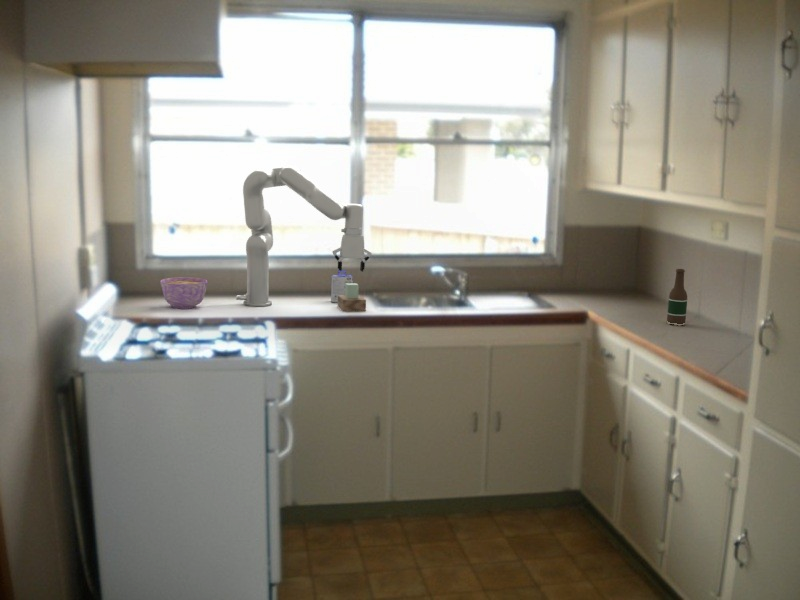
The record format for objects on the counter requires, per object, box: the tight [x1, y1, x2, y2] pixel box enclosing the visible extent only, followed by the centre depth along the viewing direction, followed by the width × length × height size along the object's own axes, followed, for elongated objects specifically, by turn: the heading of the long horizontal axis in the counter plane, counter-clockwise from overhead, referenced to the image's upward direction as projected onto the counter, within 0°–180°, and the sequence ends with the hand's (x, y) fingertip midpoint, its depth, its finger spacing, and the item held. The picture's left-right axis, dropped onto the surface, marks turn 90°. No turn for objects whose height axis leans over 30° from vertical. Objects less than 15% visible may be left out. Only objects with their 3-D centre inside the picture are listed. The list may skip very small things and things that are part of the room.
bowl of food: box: [159, 276, 209, 310], centre depth 389 cm, size 20×20×12 cm
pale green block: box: [345, 282, 360, 299], centre depth 399 cm, size 5×5×6 cm
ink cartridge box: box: [330, 269, 354, 303], centre depth 416 cm, size 10×6×14 cm, turn 94°
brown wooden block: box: [337, 294, 367, 312], centre depth 400 cm, size 10×13×5 cm
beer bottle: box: [666, 268, 688, 324], centre depth 387 cm, size 8×8×24 cm
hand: (350, 270), depth 397 cm, fingers open, 9 cm apart
